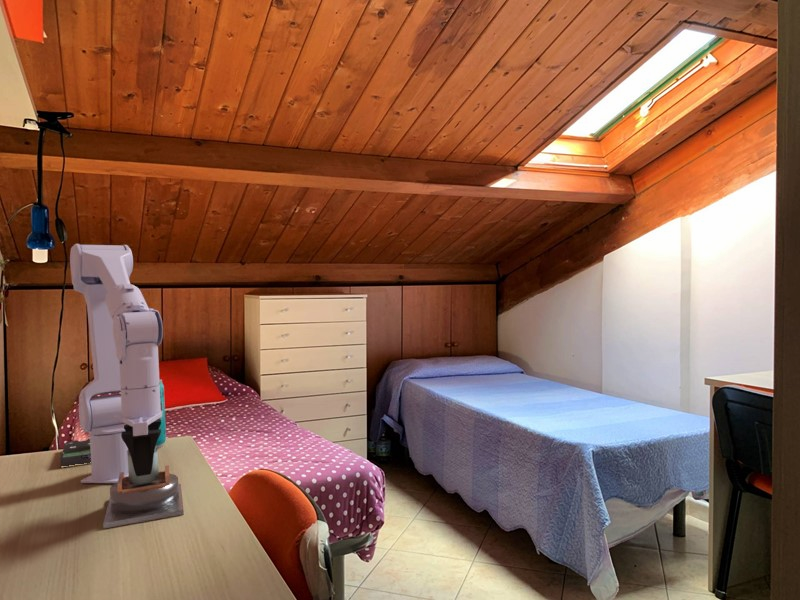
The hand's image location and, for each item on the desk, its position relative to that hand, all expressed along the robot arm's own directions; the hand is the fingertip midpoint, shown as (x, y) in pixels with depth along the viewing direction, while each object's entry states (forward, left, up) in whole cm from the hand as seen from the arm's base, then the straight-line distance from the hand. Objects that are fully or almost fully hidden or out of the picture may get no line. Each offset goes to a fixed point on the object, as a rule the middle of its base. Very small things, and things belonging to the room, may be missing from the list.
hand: (144, 470), depth 90 cm
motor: (0, 0, -6) cm, 6 cm away
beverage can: (-34, -19, -6) cm, 39 cm away
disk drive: (-28, -30, -7) cm, 41 cm away
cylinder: (0, 0, -2) cm, 2 cm away
